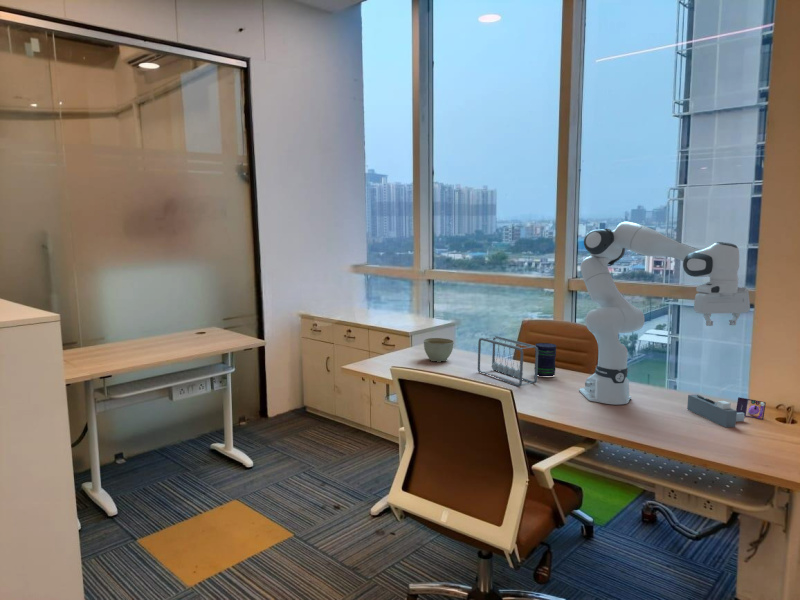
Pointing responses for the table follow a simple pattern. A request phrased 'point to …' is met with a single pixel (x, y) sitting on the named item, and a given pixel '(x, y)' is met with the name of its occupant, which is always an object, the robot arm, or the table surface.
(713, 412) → the charging dock
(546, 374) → the storage jar
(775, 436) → the table surface
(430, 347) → the planter bowl
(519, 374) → the newton's cradle
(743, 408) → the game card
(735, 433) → the table surface
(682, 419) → the table surface
